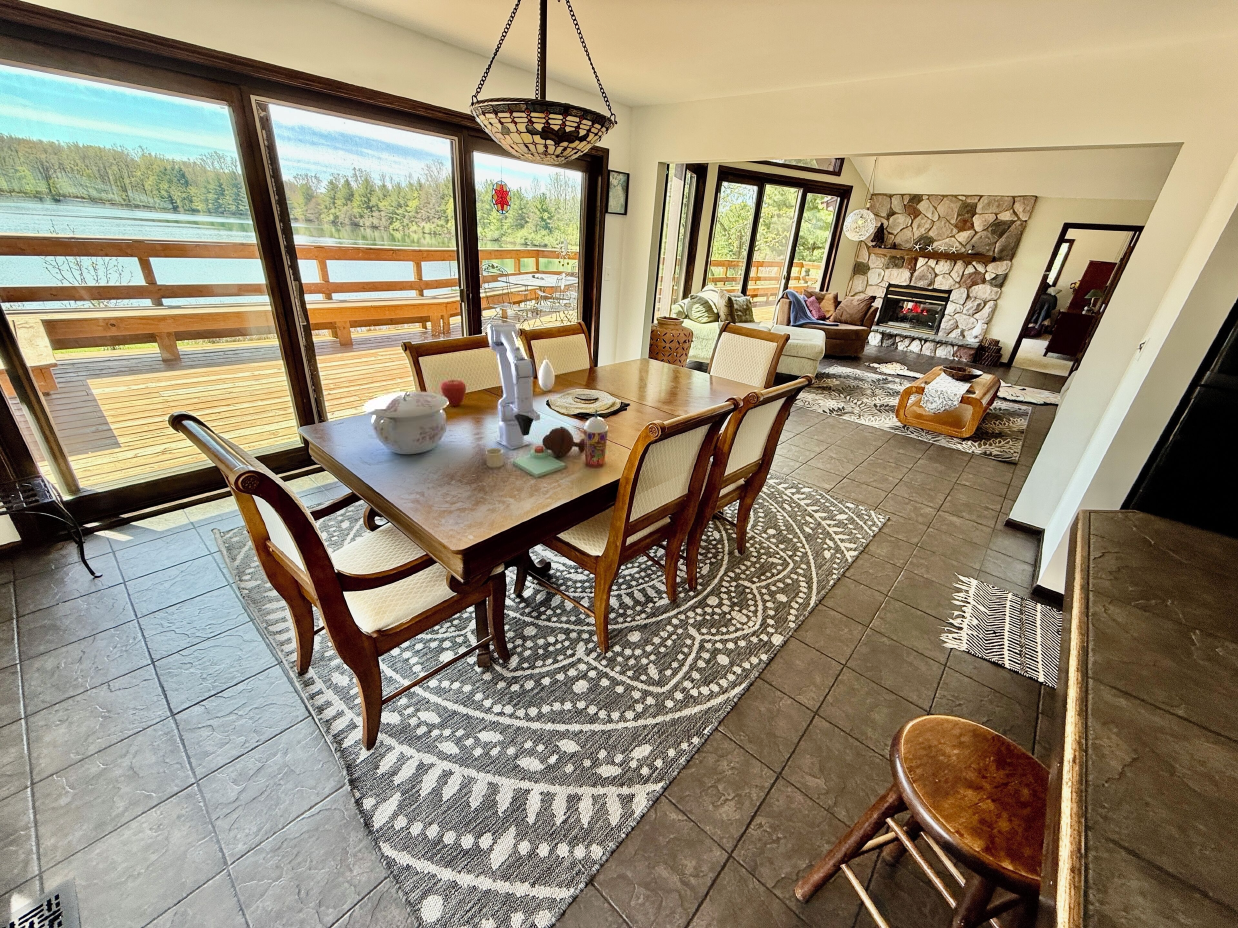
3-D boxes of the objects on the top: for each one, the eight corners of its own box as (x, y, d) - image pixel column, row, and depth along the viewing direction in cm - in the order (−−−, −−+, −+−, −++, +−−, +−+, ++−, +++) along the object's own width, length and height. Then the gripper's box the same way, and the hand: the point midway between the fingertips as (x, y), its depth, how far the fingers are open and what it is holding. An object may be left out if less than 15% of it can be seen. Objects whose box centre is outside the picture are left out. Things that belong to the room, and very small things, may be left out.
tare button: (533, 451, 169) (533, 447, 168) (540, 449, 171) (540, 445, 170) (538, 454, 167) (538, 449, 167) (545, 452, 169) (545, 447, 168)
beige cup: (483, 464, 164) (482, 450, 162) (497, 459, 168) (497, 446, 166) (492, 469, 161) (491, 456, 159) (506, 465, 164) (505, 451, 162)
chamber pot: (431, 427, 192) (425, 377, 183) (467, 448, 175) (462, 394, 166) (358, 445, 173) (346, 390, 164) (390, 471, 157) (379, 410, 148)
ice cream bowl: (583, 464, 173) (544, 459, 166) (573, 452, 182) (536, 446, 175) (592, 438, 170) (552, 430, 162) (581, 427, 179) (544, 419, 171)
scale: (511, 463, 166) (511, 455, 165) (541, 453, 174) (541, 446, 173) (536, 477, 157) (536, 469, 156) (566, 467, 165) (566, 459, 164)
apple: (463, 409, 213) (460, 383, 207) (439, 408, 213) (435, 381, 207) (470, 401, 223) (468, 376, 217) (447, 400, 223) (444, 375, 217)
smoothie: (597, 471, 163) (599, 415, 155) (578, 464, 167) (578, 410, 159) (611, 462, 170) (613, 409, 161) (591, 456, 174) (593, 404, 165)
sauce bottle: (537, 391, 241) (536, 356, 234) (541, 387, 248) (541, 352, 241) (552, 393, 240) (551, 357, 233) (556, 389, 247) (556, 354, 239)
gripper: (501, 393, 160) (503, 431, 166) (526, 404, 151) (528, 444, 157) (518, 389, 165) (520, 426, 171) (544, 400, 156) (545, 438, 162)
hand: (525, 434), depth 164 cm, fingers closed
